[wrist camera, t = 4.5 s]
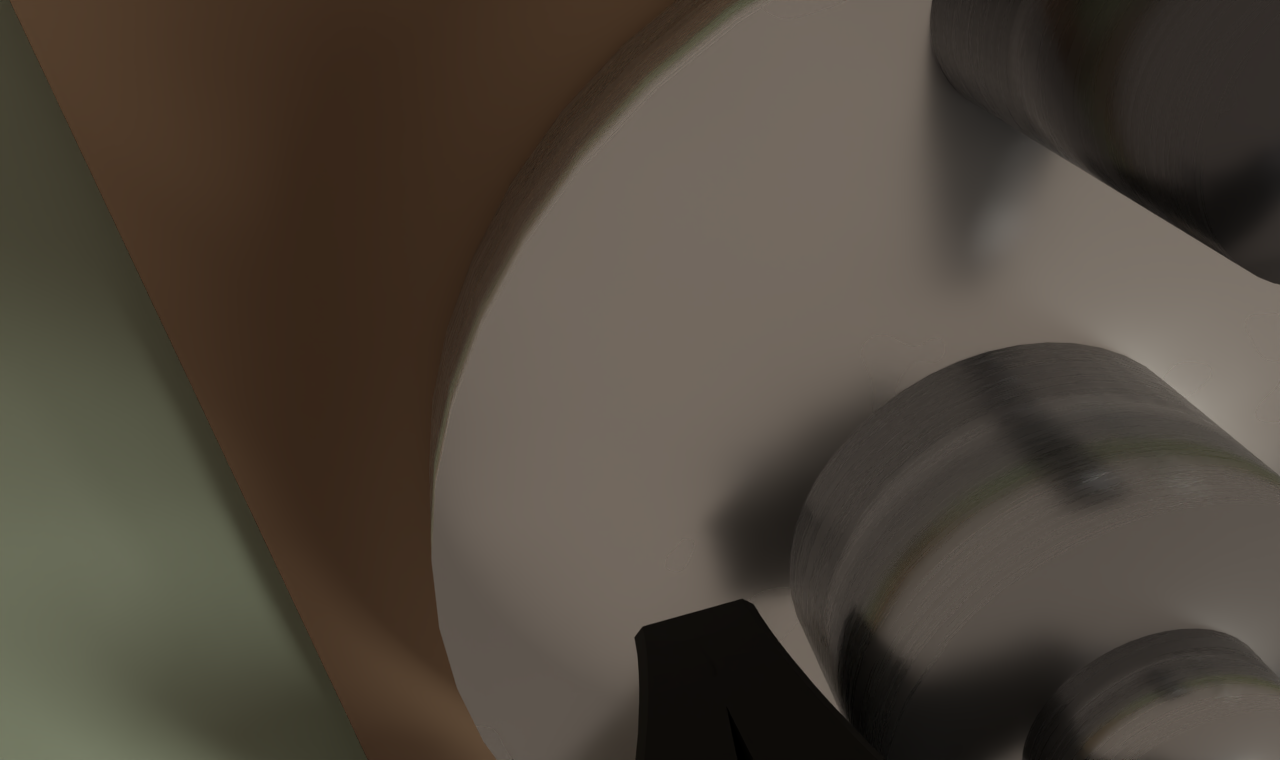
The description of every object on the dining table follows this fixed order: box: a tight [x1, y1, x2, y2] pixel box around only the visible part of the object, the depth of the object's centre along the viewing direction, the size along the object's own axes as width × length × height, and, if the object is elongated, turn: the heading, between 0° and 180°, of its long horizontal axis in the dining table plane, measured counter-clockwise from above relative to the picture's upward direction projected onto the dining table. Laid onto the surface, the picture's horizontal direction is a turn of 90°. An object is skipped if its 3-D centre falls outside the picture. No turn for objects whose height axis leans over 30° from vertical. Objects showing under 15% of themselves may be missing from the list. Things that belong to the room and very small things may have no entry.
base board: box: [10, 0, 676, 760], centre depth 13 cm, size 16×16×5 cm
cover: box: [789, 342, 1280, 760], centre depth 11 cm, size 5×5×4 cm
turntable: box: [429, 0, 1280, 760], centre depth 12 cm, size 14×14×6 cm
